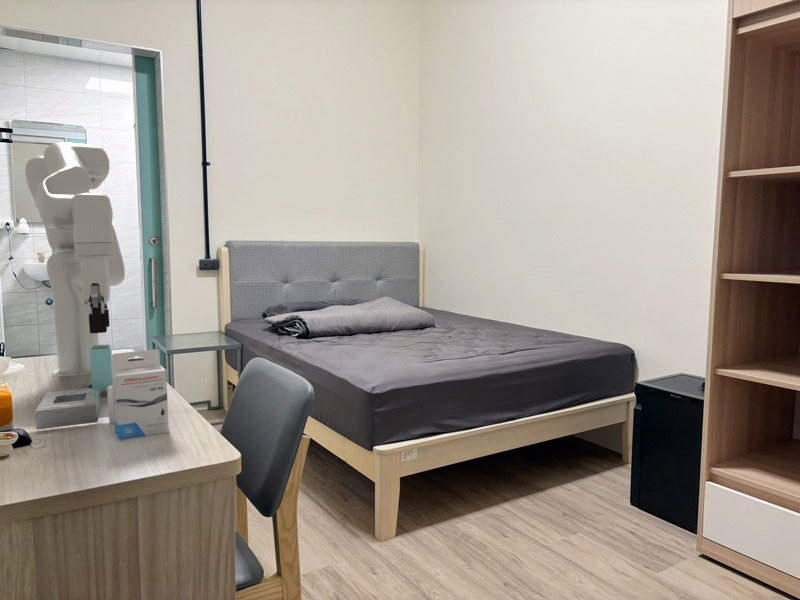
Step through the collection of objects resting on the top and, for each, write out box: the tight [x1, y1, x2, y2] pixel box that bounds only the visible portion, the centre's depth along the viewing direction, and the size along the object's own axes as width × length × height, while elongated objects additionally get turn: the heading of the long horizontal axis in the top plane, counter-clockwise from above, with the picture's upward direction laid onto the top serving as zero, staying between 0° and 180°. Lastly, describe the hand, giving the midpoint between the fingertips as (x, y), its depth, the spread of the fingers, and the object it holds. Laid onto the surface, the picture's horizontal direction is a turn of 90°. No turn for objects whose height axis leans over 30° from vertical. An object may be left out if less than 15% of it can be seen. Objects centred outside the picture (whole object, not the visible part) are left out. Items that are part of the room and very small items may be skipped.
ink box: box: [112, 348, 170, 441], centre depth 105 cm, size 8×5×15 cm, turn 123°
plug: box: [90, 343, 113, 391], centre depth 129 cm, size 4×4×10 cm
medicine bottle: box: [107, 357, 145, 425], centre depth 112 cm, size 7×7×12 cm
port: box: [34, 387, 103, 430], centre depth 116 cm, size 14×10×4 cm
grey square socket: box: [80, 383, 108, 398], centre depth 130 cm, size 9×9×2 cm
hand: (100, 329), depth 128 cm, fingers open, 9 cm apart
